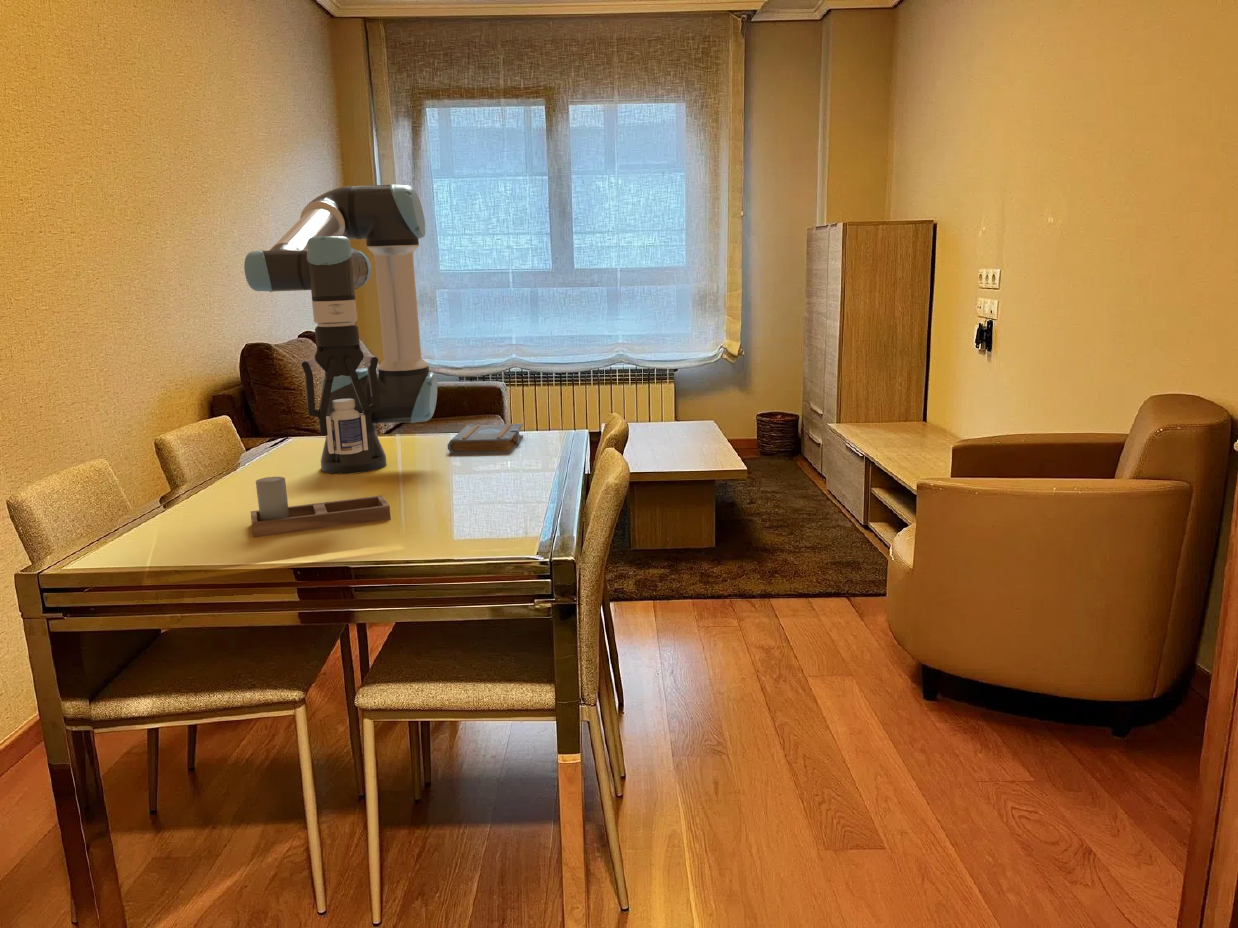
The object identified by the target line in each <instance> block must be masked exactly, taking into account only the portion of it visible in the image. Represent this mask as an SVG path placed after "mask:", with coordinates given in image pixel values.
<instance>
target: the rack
mask: <svg viewBox="0 0 1238 928" xmlns="http://www.w3.org/2000/svg"><path fill="white" fill-rule="evenodd" d="M288 509H289V518H281V519H273V520H265V521H260V513H259V509H258V510H251V511H250V520H251V521H250V522H251V529H252V537H253V538H259V537H267V536H274V535H275V536H276V535H283V534H290V533H291V534H292V533H298V532H305V531H312V530H320V529H328V528H329V529H330V528H335V527H342V526H350V525H358V524H367V523H374V522H381V521H387V520H388V521H389V520H391V518H392V517H391V507H390V505H389V503H388V502H387V500H386V499H385V497H384V496H383V495H374V496H368V497H367V496H366V497H358V498H351V499H350V498H349V499H341V500H335V501H325V502H318V503H316V502H315V503H309V504H300V505H291V506H288Z"/></svg>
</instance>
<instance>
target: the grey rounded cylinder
mask: <svg viewBox="0 0 1238 928" xmlns="http://www.w3.org/2000/svg"><path fill="white" fill-rule="evenodd" d="M255 488H256V494H257V495H256V497H257V504H258V510H259V513H260V521H265V520H273V519H281V518H289V509H288V507H289V502H288V501H289V500H288V494H287V484H286V478H285V477H283V476H268V477H263V478H259V479H256V480H255Z"/></svg>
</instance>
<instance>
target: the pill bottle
mask: <svg viewBox="0 0 1238 928" xmlns="http://www.w3.org/2000/svg"><path fill="white" fill-rule="evenodd" d="M332 407H333V409H334V412H332V413H331V414H330V418H331V427H332V437H333V448H334V453H335V454H353V453H358V452H361V451H362V450H363V441H362V431H361V420H360V413H359V412H358V411H356V410H354V407H355V400H354V399H337V400H333V401H332Z"/></svg>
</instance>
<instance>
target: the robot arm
mask: <svg viewBox="0 0 1238 928" xmlns="http://www.w3.org/2000/svg"><path fill="white" fill-rule="evenodd" d="M300 213H301V214H300V217H299V220H298V221H297V222H296V223H295V224H294V225H293V226H292V227H291V228H290V229H289V230H287V232H286V233H285V234H284V235H283V236H282V237H281V238H280V239H279V240H278V241H277V242H276V243H275V244H274V245H273V246H272V247H271V248H270V249H269V250H264V249H260V250H256V251H255V250H254V251H249V252H248V253H247V254H246V256H245V257H244V258H245V259H244V262H243V263H244V265H243V266H244V267H243V268H244V275H245V279H246V282H247V285H248V286H249V287H250V288H251V290H253V291H255V292H269V293H273V292H294V291H300V292H301V291H311V302H312V303H311V304H312V314H313V323H315V324H317V326H315V328H314V335H315V342H316V351H315V355H314V357H312V358H310V359H307V360H306V359H305V360H302V361H301V362H300V366H301V368H302V369H303V372H304V379H305V392H306V393H305V395H306V411H307V413H308V415H309V416H311V417H315V418H318V424H319V425H318V426H319V432H320V434H321V436H323V437H324V436H325V441H324V444H323V449H322V454H321V458H320V467H321V468H320V469H321V471H323V472H324V473H329V474H358V473H365V472H370V471H371V472H372V471H376V470H379V469H382V468H384V467H385V466H387V456H386V453H385V451H384V448H383V445H382V444H381V441H380V439H379V437H378V434H377V426H376V424H389V423H390V424H393V423H395V424H396V423H397V424H398V423H411V424H414V423H421V422H423V423H424V422H427V421H430V419H432V418H433V416H434V413H435V410H436V406H437V398H438V377H437V373H435V372H433V371H430V368H429V367H430V366H429V363H427V361H425V360H424V359H423V357H422V350H421V339H420V327H419V326H420V325H419V313H418V312H419V311H418V302H417V301H418V299H417V289H416V287H417V286H416V277H415V276H416V275H415V265H414V253H415V251H416V250H417V249H418V248H419V247H420V242H419V240H420V239H423V238H424V237H425V236H426V222H425V215H424V210H423V207H422V203H421V200H420V197H419V195H418V193H417V191H416V190H415V189H414V188H413V186H411V185H408V184H394V183H392V184H373V185H371V184H370V185H346V186H340V187H336V188H334V189H331V190H329V191H326V192H325V193H323V194H320V195H318V196H317V197H315V198H314V199H313V200H311V201H310V202H309V203H308V204H306V205H305V207H303V209H302V211H301V212H300ZM351 240H365V244H366V248H367V249H368V250H369V252H371V253H372V255H373V256H374V263H375V264H374V265H375V275H376V276H375V277H376V288H377V298H378V309H379V321H380V331H381V341H382V353H383V360H382V362H381V363H380V364H379V366H378V363H379V359H378V357H376V356H375V355H367V354H364V352H363V351H362V349H361V345H360V344H361V343H360V333H359V332H360V331H359V326H358V325H357V324H355V323H356V322H357V321H358V313H357V304H356V303H357V302H356V290H357V289H358V288H361V287H363V286H364V285H366V284H367V283H368V282H369V280H370V278H371V276H372V269H373V268H372V265H371V261H370V260H369V258H368V257H367V255H366V254H365V253H363V252H362V251H360V250H357V249H355V248H353V247H352V246H351ZM362 361H364V366H365V367H361V368H360V367H359V366H360V364H361V363H362ZM316 364H318V365H319V366H320V368H322V370H323V371H324V372H325V373H324V377H323V378H322V379H321V381H320V386H321V393H320V394H321V395H320V402H319V407H318V409H317V408H316V400H315V398H316V397H315V386H314V374H313V372H314V371H315V370H316ZM377 372H378V373H377ZM337 399H354V400H355V407H354V410H356V411H358V412H359V413H360V420H361V431H362V441H363V450H362V451H361V452H358V453H353V454H335V453H334V448H333V437H332V427H331V418H330V414H331V413H332V412H334V409H333V407H332V401H333V400H337Z"/></svg>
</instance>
